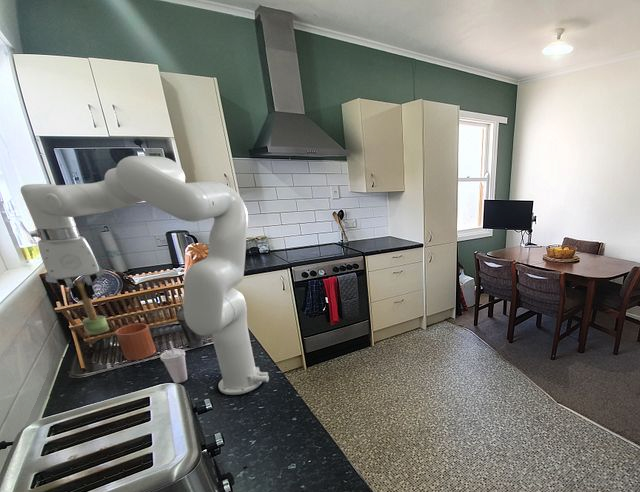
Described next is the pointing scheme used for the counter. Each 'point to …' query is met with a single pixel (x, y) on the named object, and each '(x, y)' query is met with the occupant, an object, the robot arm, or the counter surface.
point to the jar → (135, 341)
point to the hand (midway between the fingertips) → (85, 298)
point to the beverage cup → (188, 329)
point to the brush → (91, 312)
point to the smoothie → (175, 363)
